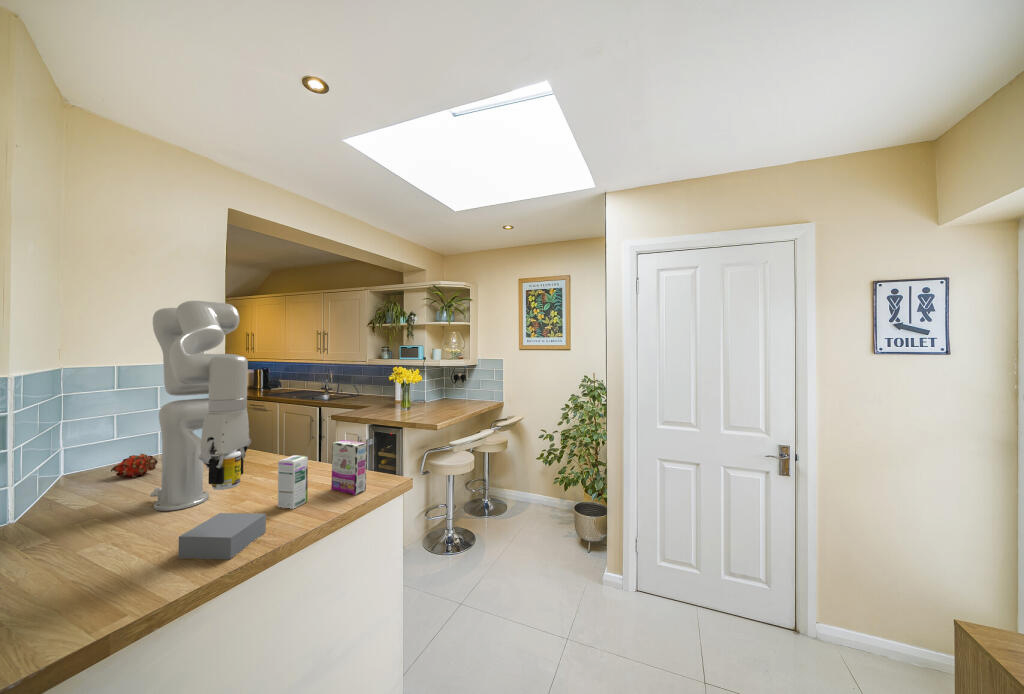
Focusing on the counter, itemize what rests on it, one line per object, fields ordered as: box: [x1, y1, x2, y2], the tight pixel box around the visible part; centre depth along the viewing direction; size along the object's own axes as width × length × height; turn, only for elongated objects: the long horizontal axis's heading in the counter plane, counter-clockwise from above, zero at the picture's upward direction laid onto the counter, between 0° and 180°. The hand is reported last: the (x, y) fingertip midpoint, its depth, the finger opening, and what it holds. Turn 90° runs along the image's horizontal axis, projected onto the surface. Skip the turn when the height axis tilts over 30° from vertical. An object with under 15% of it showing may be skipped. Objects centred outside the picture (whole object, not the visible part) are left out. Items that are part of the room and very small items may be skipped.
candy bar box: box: [330, 439, 368, 496], centre depth 125 cm, size 11×5×16 cm, turn 68°
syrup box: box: [277, 454, 309, 510], centre depth 113 cm, size 6×6×14 cm
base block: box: [177, 512, 267, 560], centre depth 90 cm, size 12×12×5 cm
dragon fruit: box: [110, 453, 159, 479], centre depth 134 cm, size 8×8×12 cm
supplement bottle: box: [211, 449, 242, 491], centre depth 90 cm, size 6×6×10 cm
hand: (226, 478), depth 90 cm, fingers closed on supplement bottle, 5 cm apart
